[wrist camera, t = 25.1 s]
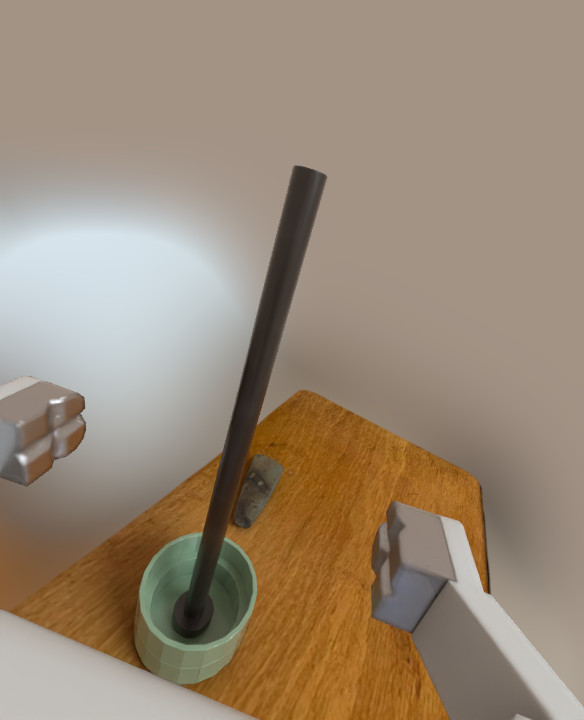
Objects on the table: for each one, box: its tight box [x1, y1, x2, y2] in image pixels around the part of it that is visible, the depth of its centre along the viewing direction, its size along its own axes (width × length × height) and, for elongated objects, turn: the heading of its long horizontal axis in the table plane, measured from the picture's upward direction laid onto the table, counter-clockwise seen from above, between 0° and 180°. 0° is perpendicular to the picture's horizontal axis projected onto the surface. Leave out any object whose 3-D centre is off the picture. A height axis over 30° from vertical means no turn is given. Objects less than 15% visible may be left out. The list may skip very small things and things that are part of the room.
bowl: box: [134, 532, 257, 684], centre depth 31 cm, size 10×10×6 cm
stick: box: [172, 166, 327, 638], centre depth 24 cm, size 4×4×38 cm
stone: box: [233, 454, 283, 529], centre depth 47 cm, size 13×5×2 cm, turn 170°
